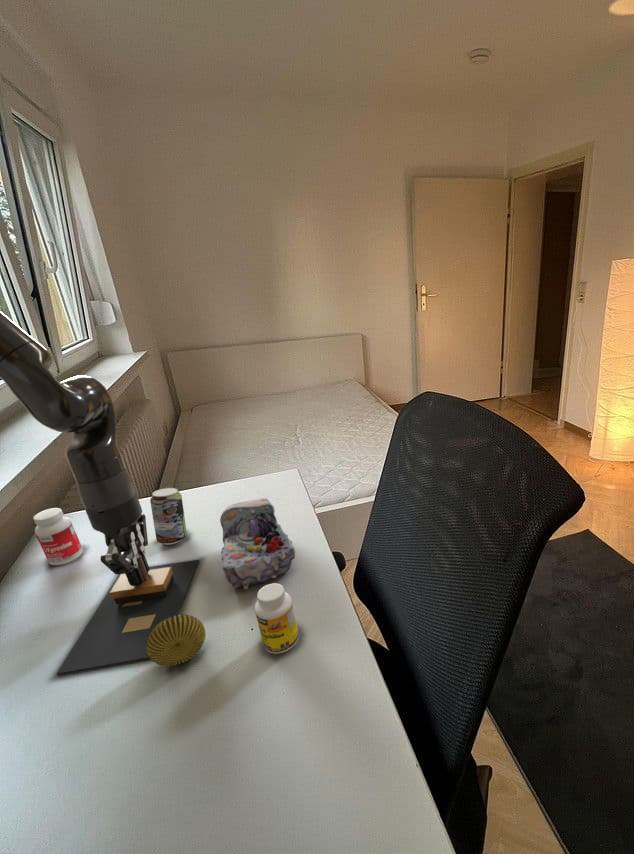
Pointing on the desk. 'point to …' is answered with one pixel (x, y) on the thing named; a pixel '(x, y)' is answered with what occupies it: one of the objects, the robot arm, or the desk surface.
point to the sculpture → (175, 640)
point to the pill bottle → (57, 536)
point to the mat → (127, 625)
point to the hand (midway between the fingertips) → (140, 578)
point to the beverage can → (168, 516)
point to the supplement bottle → (276, 618)
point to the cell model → (253, 544)
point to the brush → (143, 585)
